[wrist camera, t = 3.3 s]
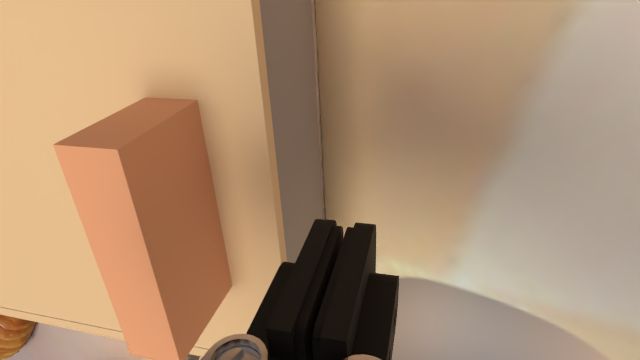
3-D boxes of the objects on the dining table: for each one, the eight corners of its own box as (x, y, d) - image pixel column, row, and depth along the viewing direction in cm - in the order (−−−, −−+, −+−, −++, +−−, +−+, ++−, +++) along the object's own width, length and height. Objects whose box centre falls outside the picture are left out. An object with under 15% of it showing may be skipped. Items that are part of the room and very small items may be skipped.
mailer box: (312, -47, 18) (250, -41, 13) (327, 256, 26) (293, 343, 20) (-46, -29, 23) (-201, -20, 18) (55, 220, 31) (-32, 281, 25)
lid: (269, -78, 13) (150, -90, 8) (306, 341, 21) (260, 465, 16) (-200, -45, 18) (-449, -39, 13) (-22, 280, 27) (-132, 359, 22)
